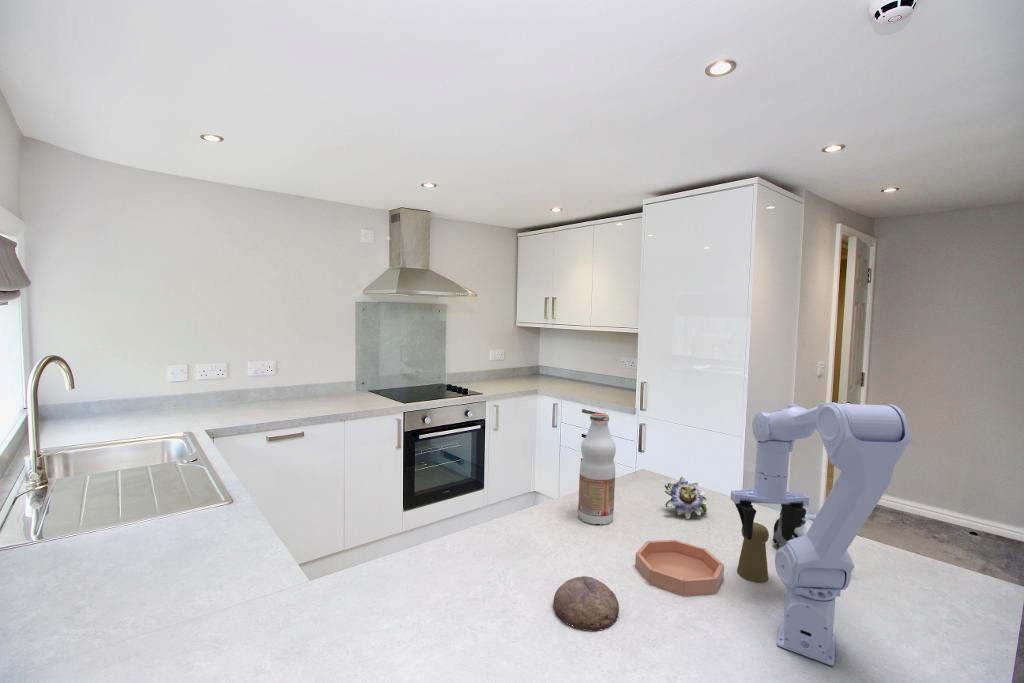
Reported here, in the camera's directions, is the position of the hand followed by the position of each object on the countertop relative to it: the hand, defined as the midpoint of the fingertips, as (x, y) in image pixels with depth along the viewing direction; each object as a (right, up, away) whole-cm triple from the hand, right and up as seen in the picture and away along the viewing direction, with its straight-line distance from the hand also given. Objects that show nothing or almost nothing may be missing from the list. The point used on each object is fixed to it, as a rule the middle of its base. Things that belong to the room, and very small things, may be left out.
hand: (766, 538), depth 97 cm
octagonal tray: (-16, -10, +6) cm, 19 cm away
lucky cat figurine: (+18, -10, +14) cm, 25 cm away
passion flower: (-3, -9, +37) cm, 38 cm away
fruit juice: (-29, -8, +32) cm, 44 cm away
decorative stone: (-38, -10, -8) cm, 40 cm away
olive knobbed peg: (0, -10, +6) cm, 12 cm away
